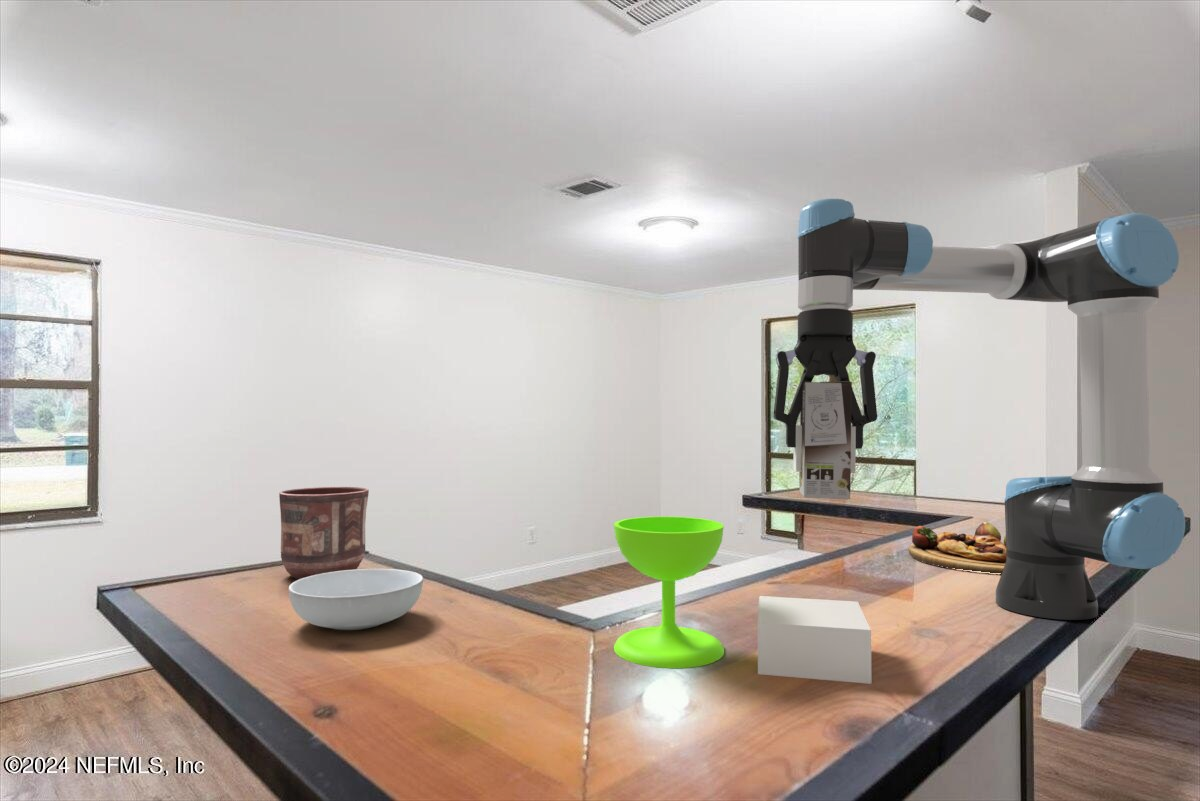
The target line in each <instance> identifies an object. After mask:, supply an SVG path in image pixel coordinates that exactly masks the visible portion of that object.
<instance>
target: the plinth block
mask: <svg viewBox="0 0 1200 801" xmlns="http://www.w3.org/2000/svg"><path fill="white" fill-rule="evenodd" d="M860 605H861V604H859V601H852V600H851V601H850V600H836V599H835V600H833V599H822V598H821V599H820V598H817V599H816V598H802V597H801V598H799V597H787V596H786V597H782V596H770V595H768V596H767V595H765V596H764V595H759V597H758V613H757V675H763V676H776V677H788V678H798V679H799V678H801V679H809V680H810V679H811V680H821V681H831V682H832V681H833V682H847V683H855V684H856V683H858V684H868V685H872V679H873V678H872V628H871V627H870V625H869V623H868V621H867V619H866V617H865V614H864V612H863V609H862V607H861V606H860Z"/></svg>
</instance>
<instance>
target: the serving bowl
mask: <svg viewBox="0 0 1200 801" xmlns="http://www.w3.org/2000/svg"><path fill="white" fill-rule="evenodd" d="M423 583H424V576H423V575H422V574H420V573H419V572H418V573H417V572H415V571H411V570H406V569H395V568H356V569H354V570H343V571H335V572H329V573H323V574H317V575H313V576H309V577H305V578H302V579H299V580H297V579H296V580H295V581H293V582H292V583H291V584H289V586H288V594H289V595H288V596H289V601H290V604H291V606H292V608H293V610H294V612H295V613H296V614H297V615H298V617H300V618H301V619H302V620H303V621H305V622H307V623H308V624H311V625H314V626H317V627H321V628H327V629H333V630H336V631H337V630H338V631H359V630H367V629H370V628H374V627H378V626H380V625H381V626H382V625H383V624H386V623H389V622H391V621H394V620H396V619H398V618H401V617H403V616H404V615H405V614H406V613H408V612H409V611H410V610H412V608H413V607H414V606H415V604H416V603H418V602H417V601H418V600H419V598H420V596H421V593H422V590H423Z"/></svg>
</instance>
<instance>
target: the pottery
mask: <svg viewBox="0 0 1200 801" xmlns="http://www.w3.org/2000/svg"><path fill="white" fill-rule="evenodd" d="M369 491H370V490H369V488H365V487H360V486H355V487H354V486H317V487H315V486H314V487H303V488H295V489H293V488H292V489H287V490H283V491H281V492H280V491H279V496H278V498H279V508H280V510H279V511H280V559H281V562H282V564H283V567H284V569H285V570H286V573H288V574H289V575H290V576H291V577H292V578H294V580H296V581H297V580H299V579H302V578H305V577H309V576H313V575H317V574H323V573H329V572H335V571H343V570H354V569H358V568H359V567H360V565H361V563H362V561H363V559H364V557H365V552H366V518H367V516H366V515H367V506H368V499H369Z"/></svg>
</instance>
